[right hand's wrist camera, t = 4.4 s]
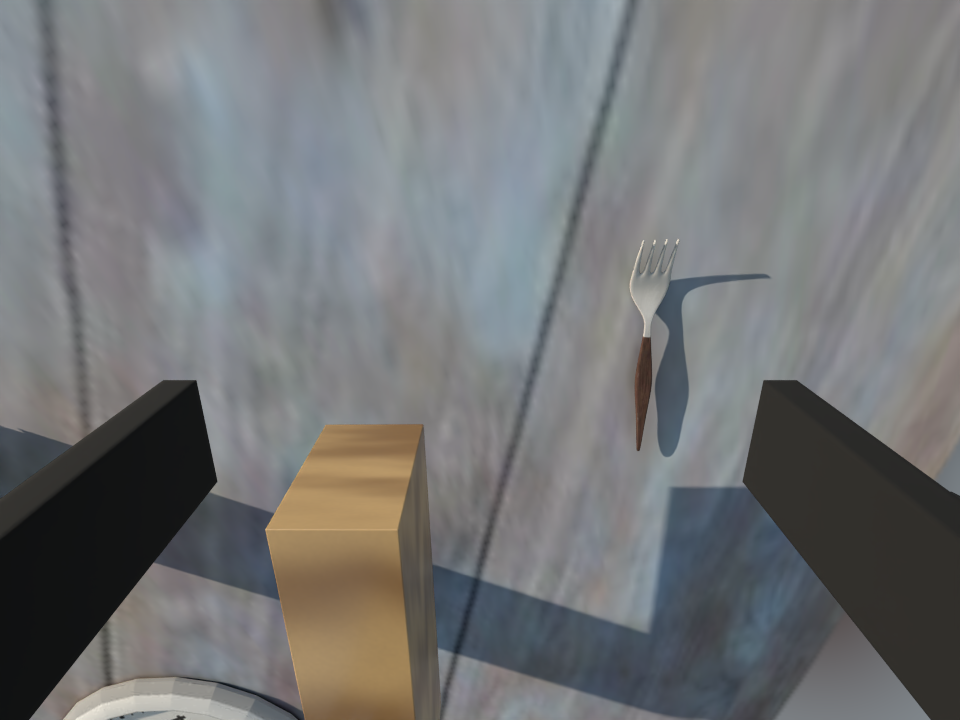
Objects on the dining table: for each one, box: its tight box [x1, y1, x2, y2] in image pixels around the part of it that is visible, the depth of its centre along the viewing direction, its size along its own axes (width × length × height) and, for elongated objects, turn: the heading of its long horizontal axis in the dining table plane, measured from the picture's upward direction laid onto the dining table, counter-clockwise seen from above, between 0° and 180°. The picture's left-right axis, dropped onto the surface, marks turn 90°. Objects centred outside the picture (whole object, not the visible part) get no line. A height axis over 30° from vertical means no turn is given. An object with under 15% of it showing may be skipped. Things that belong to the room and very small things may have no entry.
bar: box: [266, 424, 441, 720], centre depth 33 cm, size 24×6×9 cm, turn 1°
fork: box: [630, 239, 680, 451], centre depth 37 cm, size 3×16×2 cm, turn 3°
